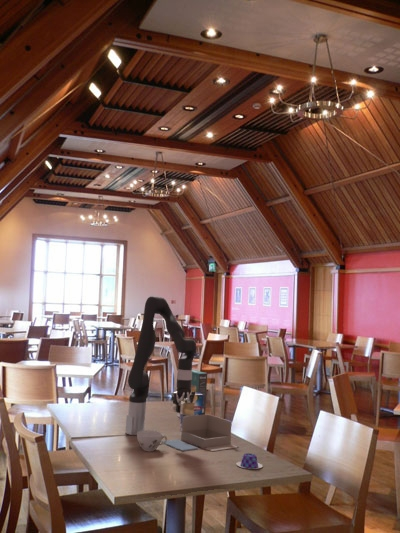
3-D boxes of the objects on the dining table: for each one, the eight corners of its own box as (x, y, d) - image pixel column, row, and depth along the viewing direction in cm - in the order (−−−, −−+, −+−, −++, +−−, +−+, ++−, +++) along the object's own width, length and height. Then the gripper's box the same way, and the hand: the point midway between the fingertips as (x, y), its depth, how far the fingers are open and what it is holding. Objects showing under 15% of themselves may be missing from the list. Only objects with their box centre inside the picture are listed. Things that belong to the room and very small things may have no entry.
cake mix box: (204, 423, 340) (207, 373, 342) (196, 423, 337) (199, 373, 339) (185, 415, 358) (187, 368, 360) (177, 416, 355) (180, 368, 357)
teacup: (137, 453, 265) (138, 436, 265) (134, 446, 277) (135, 430, 277) (168, 453, 268) (170, 436, 269) (163, 446, 280) (165, 430, 281)
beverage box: (200, 435, 309) (203, 394, 310) (181, 435, 306) (184, 394, 308) (198, 432, 315) (200, 392, 317) (179, 432, 313) (181, 392, 314)
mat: (182, 451, 273) (182, 450, 273) (161, 442, 287) (161, 441, 287) (198, 449, 279) (198, 447, 279) (177, 440, 293) (177, 439, 293)
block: (170, 410, 287) (171, 399, 288) (178, 409, 290) (179, 399, 291) (185, 415, 277) (186, 404, 278) (193, 414, 280) (194, 403, 280)
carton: (211, 451, 276) (213, 427, 276) (181, 439, 296) (182, 416, 297) (238, 447, 286) (239, 423, 287) (207, 436, 307) (208, 414, 307)
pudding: (248, 471, 247) (248, 459, 247) (230, 464, 257) (231, 453, 257) (267, 468, 254) (268, 456, 254) (250, 461, 264) (250, 450, 264)
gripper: (191, 376, 292) (189, 410, 291) (168, 377, 283) (166, 412, 282) (199, 378, 286) (197, 412, 285) (177, 380, 277) (175, 414, 276)
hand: (182, 412), depth 284 cm, fingers closed on block, 4 cm apart
